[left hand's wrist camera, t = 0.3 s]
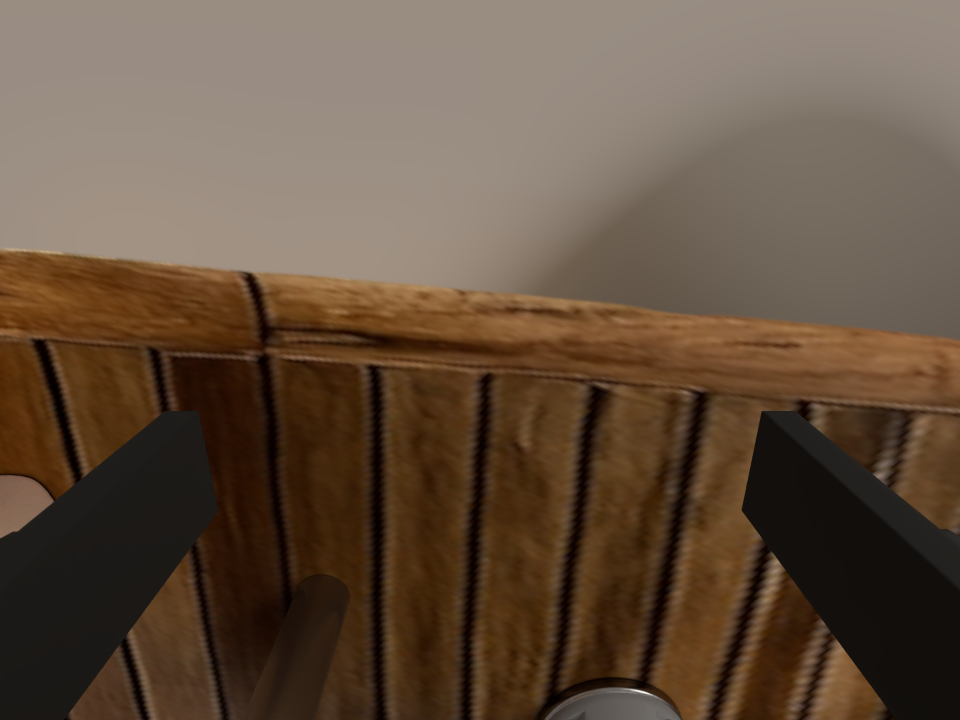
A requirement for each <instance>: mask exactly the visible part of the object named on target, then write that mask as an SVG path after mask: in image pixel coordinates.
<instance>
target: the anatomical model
mask: <svg viewBox="0 0 960 720" xmlns="http://www.w3.org/2000/svg"><path fill="white" fill-rule="evenodd" d="M53 502H54V500H53V499H52V497H51V496H50V495H49V493H48V492H47V491H46V489H44V488H43V487H42V486H41V485H40V484H39V483H38V482H36V481H35V480H33V479H30V478H27V477H23V476H14V475H0V538H2V537H4V536H5V535H7V534H9V533H11V532H13V531H19V530H20V529H21V528H22V527H23V526H25V525H26V524H27V523H28V522H30V521H31V520H32V519H33V518H34V517H36V516H37V515H38V514H39V513H41V512H42V511H43V510H44V509H46V508H47V507H48V506H49V505H50V504H52V503H53Z"/></svg>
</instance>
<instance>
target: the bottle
mask: <svg viewBox="0 0 960 720" xmlns="http://www.w3.org/2000/svg"><path fill="white" fill-rule="evenodd" d="M349 601H350V595H349V591H348V589H347V587H346V586H345V585H344V584H343V583H342V582H341V581H339V580H338V579H336V578H334V577H331V576H327V575H315V576H311V577H308V578H307V579H305V580H304V581H302V582H301V583H300V585H299V587H298V589H297V591H296V593H295V596H294V598H293V601H292V603H291V605H290V608H289V610H288V612H287V615H286V617H285V620H284V622H283V624H282V627H281V629H280V631H279V634H278V636H277V639H276V641H275V643H274V646H273V648H272V651H271V653H270V655H269V658H268V660H267V662H266V665H265V667H264V670H263V672H262V674H261V677H260V679H259V681H258V684H257V686H256V689H255V691H254V693H253V696H252V698H251V700H250V703H249V705H248V708H247V710H246V712H245V715H244V717H243V719H242V720H315V717H316V714H317V711H318V707H319V704H320V700H321V697H322V693H323V690H324V687H325V683H326V680H327V676H328V673H329V670H330V666H331V663H332V659H333V656H334V652H335V649H336V646H337V642H338V639H339V635H340V632H341V629H342V625H343V622H344V618H345V615H346V611H347V608H348V605H349Z"/></svg>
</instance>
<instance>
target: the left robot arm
mask: <svg viewBox="0 0 960 720" xmlns="http://www.w3.org/2000/svg"><path fill="white" fill-rule="evenodd" d="M217 511H218V506H217V501H216V496H215V491H214V486H213V481H212V477H211V472H210V467H209V462H208V457H207V452H206V447H205V442H204V437H203V432H202V427H201V423H200V418H199V413H198V411H165V412H164V413H162V414H161V415H160V416H159V417H157V418H156V419H155V420H154V421H153V422H151V423H150V424H149V425H148V426H146V427H145V428H144V429H143V430H141V431H140V432H139V433H138V434H137V435H135V436H134V437H133V438H132V439H130V440H129V441H128V442H127V443H125V444H124V445H123V446H122V447H121V448H119V449H118V450H117V451H116V452H114V453H113V454H112V455H111V456H109V457H108V458H107V459H106V460H105V461H103V462H102V463H101V464H100V465H98V466H97V467H96V468H95V469H94V470H92V471H91V472H90V473H89V474H87V475H86V476H85V477H84V478H82V479H81V480H80V481H79V482H78V483H76V484H75V485H74V486H73V487H71V488H70V489H69V490H68V491H66V492H65V493H64V494H63V495H62V496H60V497H59V498H58V499H57V500H55V501H54V502H53V503H52V504H50V505H49V506H48V507H47V508H46V509H44V510H43V511H42V512H41V513H39V514H38V515H37V516H36V517H34V518H33V519H32V520H31V521H30V522H28V523H27V524H26V525H25V526H23V527H22V528H21V529H20V530H19V531H13V532H11V533H9V534H7V535H5V536H4V537H2V538H0V720H64V719H65V718H66V716H67V715H68V714H69V712H70V711H71V710H72V708H73V707H74V706H75V704H76V703H77V701H78V700H79V699H80V697H81V696H82V695H83V693H84V692H85V691H86V689H87V688H88V687H89V685H90V684H91V682H92V681H93V680H94V678H95V677H96V676H97V674H98V673H99V672H100V670H101V669H102V668H103V666H104V665H105V663H106V662H107V661H108V659H109V658H110V657H111V655H112V654H113V653H114V651H115V650H116V649H117V647H118V646H119V644H120V643H121V642H122V640H123V639H124V638H125V636H126V635H127V634H128V632H129V631H130V630H131V628H132V627H133V625H134V624H135V623H136V621H137V620H138V619H139V617H140V616H141V615H142V613H143V612H144V611H145V609H146V608H147V606H148V605H149V604H150V602H151V601H152V600H153V598H154V597H155V596H156V594H157V593H158V592H159V590H160V589H161V587H162V586H163V585H164V583H165V582H166V581H167V579H168V578H169V577H170V575H171V574H172V573H173V571H174V570H175V568H176V567H177V566H178V564H179V563H180V562H181V560H182V559H183V558H184V556H185V555H186V554H187V552H188V551H189V549H190V548H191V547H192V545H193V544H194V543H195V541H196V540H197V539H198V537H199V536H200V535H201V533H202V532H203V530H204V529H205V528H206V526H207V525H208V524H209V522H210V521H211V520H212V518H213V517H214V516H215V514H216V513H217ZM742 511H743V513H744V514H745V516H746V517H747V518H748V520H749V521H750V522H751V524H752V525H753V526H754V528H755V529H756V530H757V532H758V533H759V535H760V536H761V537H762V539H763V540H764V541H765V543H766V544H767V545H768V547H769V548H770V549H771V551H772V552H773V554H774V555H775V556H776V558H777V559H778V560H779V562H780V563H781V564H782V566H783V567H784V568H785V570H786V571H787V573H788V574H789V575H790V577H791V578H792V579H793V581H794V582H795V583H796V585H797V586H798V587H799V589H800V590H801V592H802V593H803V594H804V596H805V597H806V598H807V600H808V601H809V602H810V604H811V605H812V606H813V608H814V609H815V611H816V612H817V613H818V615H819V616H820V617H821V619H822V620H823V621H824V623H825V624H826V625H827V627H828V628H829V630H830V631H831V632H832V634H833V635H834V636H835V638H836V639H837V640H838V642H839V643H840V644H841V646H842V647H843V649H844V650H845V651H846V653H847V654H848V655H849V657H850V658H851V659H852V661H853V662H854V663H855V665H856V666H857V668H858V669H859V670H860V672H861V673H862V674H863V676H864V677H865V678H866V680H867V681H868V682H869V684H870V685H871V687H872V688H873V689H874V691H875V692H876V693H877V695H878V696H879V697H880V699H881V700H882V701H883V703H884V704H885V706H886V707H887V708H888V710H889V711H890V712H891V714H892V715H893V716H894V718H895V719H896V720H960V536H959V535H957V534H955V533H953V532H951V531H950V530H948V529H939V528H938V527H937V526H935V525H934V524H933V523H932V522H930V521H929V520H928V519H927V518H926V517H924V516H923V515H922V514H921V513H919V512H918V511H917V510H916V509H914V508H913V507H912V506H911V505H910V504H908V503H907V502H906V501H905V500H903V499H902V498H901V497H900V496H898V495H897V494H896V493H895V492H894V491H892V490H891V489H890V488H889V487H887V486H886V485H885V484H884V483H882V482H881V481H880V480H879V479H878V478H876V477H875V476H874V475H873V474H871V473H870V472H869V471H868V470H866V469H865V468H864V467H863V466H862V465H860V464H859V463H858V462H857V461H855V460H854V459H853V458H852V457H851V456H849V455H848V454H847V453H846V452H844V451H843V450H842V449H841V448H839V447H838V446H837V445H836V444H835V443H833V442H832V441H831V440H830V439H828V438H827V437H826V436H825V435H823V434H822V433H821V432H820V431H819V430H817V429H816V428H815V427H814V426H812V425H811V424H810V423H809V422H807V421H806V420H805V419H804V418H803V417H801V416H800V415H799V414H798V413H796V412H795V411H762V413H761V418H760V423H759V427H758V432H757V437H756V442H755V447H754V452H753V457H752V462H751V467H750V472H749V477H748V481H747V486H746V491H745V496H744V501H743V506H742ZM538 720H683V719H682V716H681V714H680V711H679V709H678V707H677V706H676V704H675V703H674V702H673V701H672V700H671V699H670V698H669V697H668V696H667V695H666V694H664V693H663V692H662V691H660V690H658V689H657V688H654V687H652V686H650V685H647V684H644V683H641V682H637V681H632V680H624V679H606V680H598V681H592V682H588V683H584V684H581V685H578V686H576V687H574V688H571V689H569V690H567V691H565V692H564V693H562V694H560V695H559V696H558V697H556V698H555V699H554V700H553V701H551V702H550V703H549V704H548V705H547V707H546V708H545V709H544V710H543V712H542V713H541V715H540V717H539V719H538Z"/></svg>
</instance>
